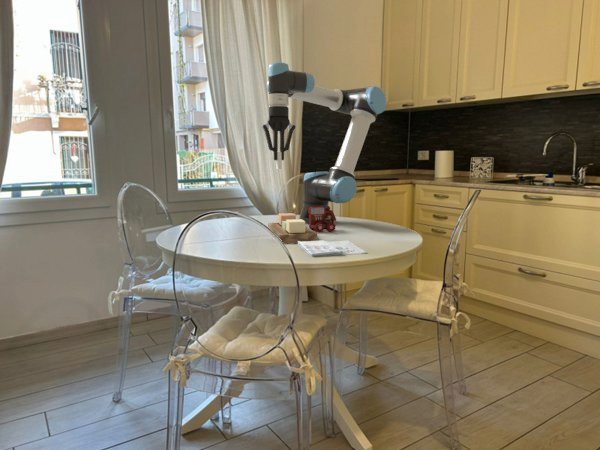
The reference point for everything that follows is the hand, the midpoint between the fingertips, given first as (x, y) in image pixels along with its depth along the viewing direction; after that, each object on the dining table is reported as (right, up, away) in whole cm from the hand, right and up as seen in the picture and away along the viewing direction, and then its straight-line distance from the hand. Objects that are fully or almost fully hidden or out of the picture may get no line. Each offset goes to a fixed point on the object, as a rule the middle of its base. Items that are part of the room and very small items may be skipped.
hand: (278, 168), depth 168 cm
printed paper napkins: (+19, -31, -21) cm, 42 cm away
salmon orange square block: (+3, -21, +8) cm, 23 cm away
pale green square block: (+5, -25, +1) cm, 25 cm away
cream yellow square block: (+7, -24, -7) cm, 26 cm away
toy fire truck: (+17, -24, +12) cm, 32 cm away
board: (+5, -26, +1) cm, 26 cm away
